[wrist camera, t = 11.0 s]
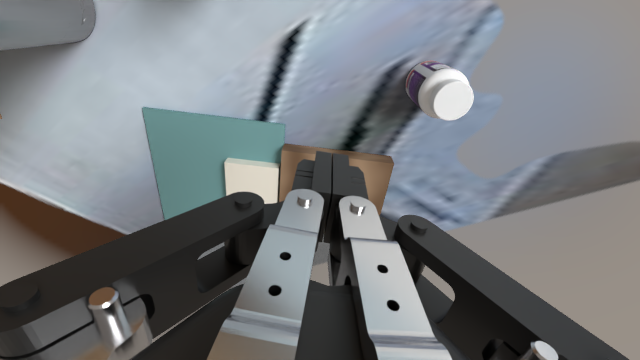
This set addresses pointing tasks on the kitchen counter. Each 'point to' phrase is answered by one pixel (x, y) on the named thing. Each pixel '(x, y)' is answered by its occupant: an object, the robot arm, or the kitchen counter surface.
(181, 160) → the mat
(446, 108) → the pill bottle
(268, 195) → the tile
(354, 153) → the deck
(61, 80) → the kitchen counter surface
